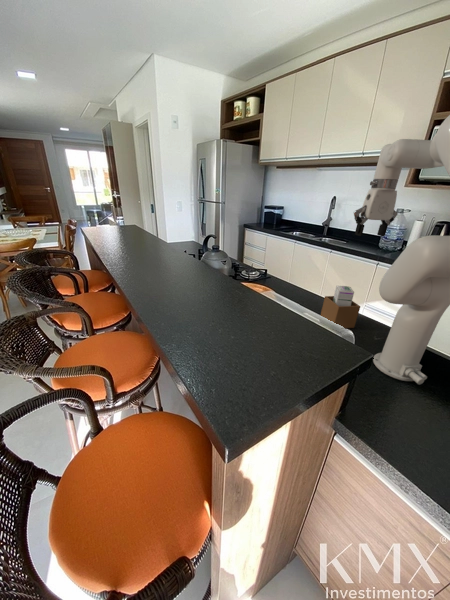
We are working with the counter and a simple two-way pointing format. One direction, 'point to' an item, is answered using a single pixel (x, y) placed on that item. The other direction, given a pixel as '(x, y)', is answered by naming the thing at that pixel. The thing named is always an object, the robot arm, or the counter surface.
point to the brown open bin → (340, 312)
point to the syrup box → (343, 296)
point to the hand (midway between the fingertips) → (369, 235)
